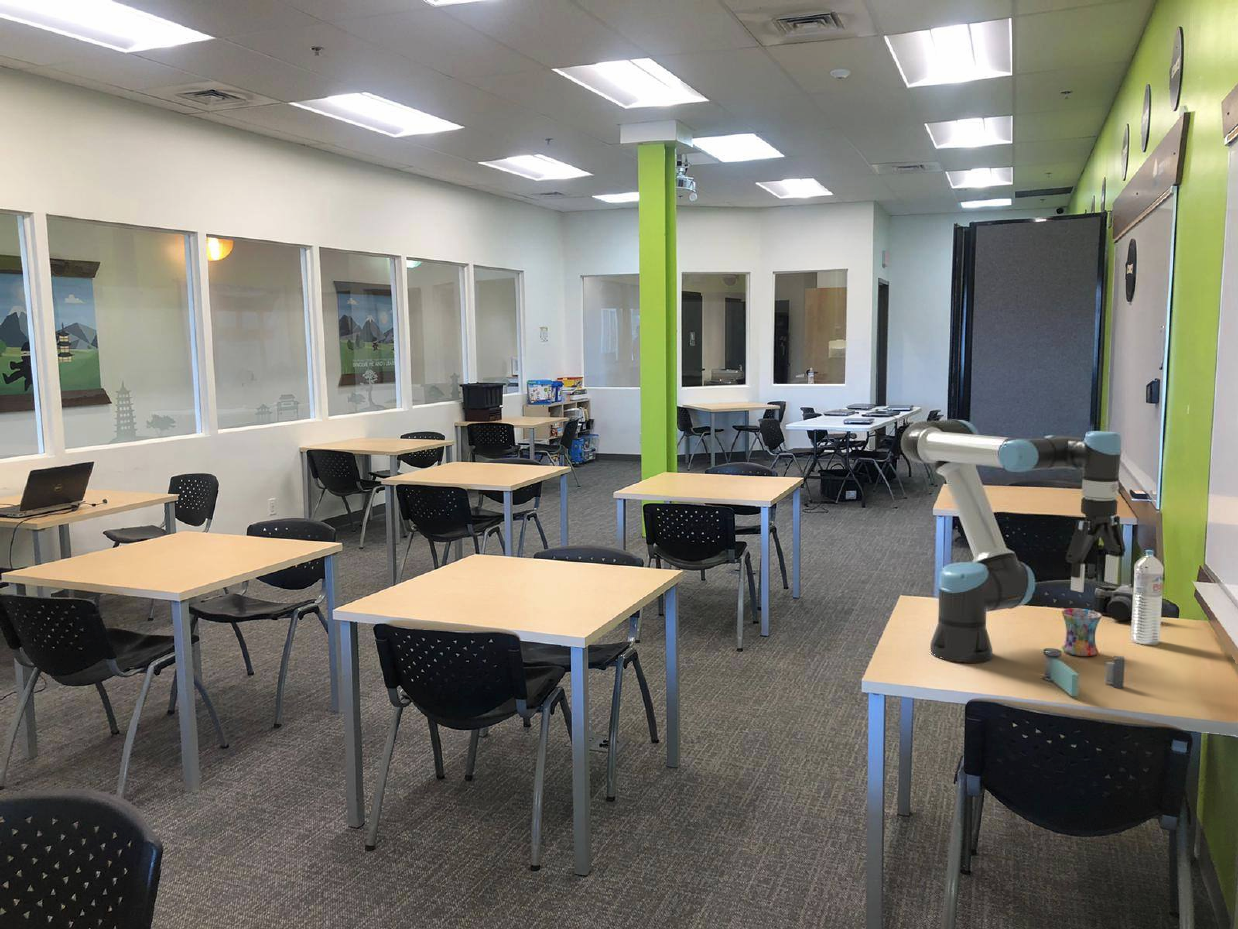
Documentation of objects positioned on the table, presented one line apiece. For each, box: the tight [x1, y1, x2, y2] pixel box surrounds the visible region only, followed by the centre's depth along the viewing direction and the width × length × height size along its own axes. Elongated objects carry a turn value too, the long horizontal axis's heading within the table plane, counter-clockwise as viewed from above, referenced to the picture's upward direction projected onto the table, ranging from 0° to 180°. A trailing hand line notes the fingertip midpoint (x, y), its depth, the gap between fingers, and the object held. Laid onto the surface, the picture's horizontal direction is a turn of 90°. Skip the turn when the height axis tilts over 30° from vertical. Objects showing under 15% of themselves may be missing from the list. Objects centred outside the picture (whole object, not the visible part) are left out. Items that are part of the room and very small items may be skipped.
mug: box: [1061, 607, 1103, 657], centre depth 242 cm, size 12×9×11 cm
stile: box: [1105, 655, 1126, 689], centre depth 217 cm, size 3×3×7 cm
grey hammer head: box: [1042, 647, 1063, 683], centre depth 222 cm, size 4×4×7 cm
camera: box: [1093, 583, 1134, 622], centre depth 270 cm, size 16×10×10 cm, turn 49°
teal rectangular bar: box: [1044, 655, 1080, 697], centre depth 216 cm, size 14×3×5 cm, turn 177°
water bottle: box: [1130, 549, 1165, 646], centre depth 248 cm, size 7×7×25 cm
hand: (1094, 586), depth 219 cm, fingers open, 13 cm apart
